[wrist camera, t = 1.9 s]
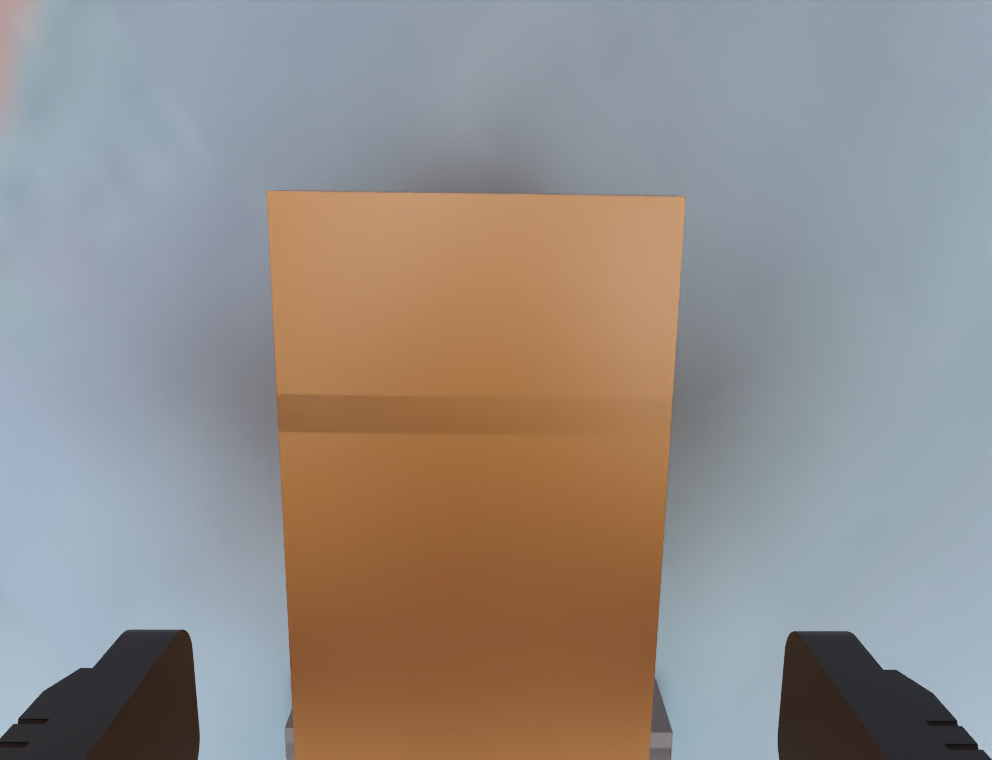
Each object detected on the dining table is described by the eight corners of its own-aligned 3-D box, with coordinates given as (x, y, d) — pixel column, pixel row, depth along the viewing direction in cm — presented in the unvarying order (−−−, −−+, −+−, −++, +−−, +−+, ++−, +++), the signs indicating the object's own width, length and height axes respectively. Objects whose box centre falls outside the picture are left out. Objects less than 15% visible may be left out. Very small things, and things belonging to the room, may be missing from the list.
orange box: (368, 186, 18) (266, 191, 10) (603, 189, 18) (685, 197, 10) (377, 592, 20) (299, 857, 12) (586, 595, 20) (642, 862, 12)
